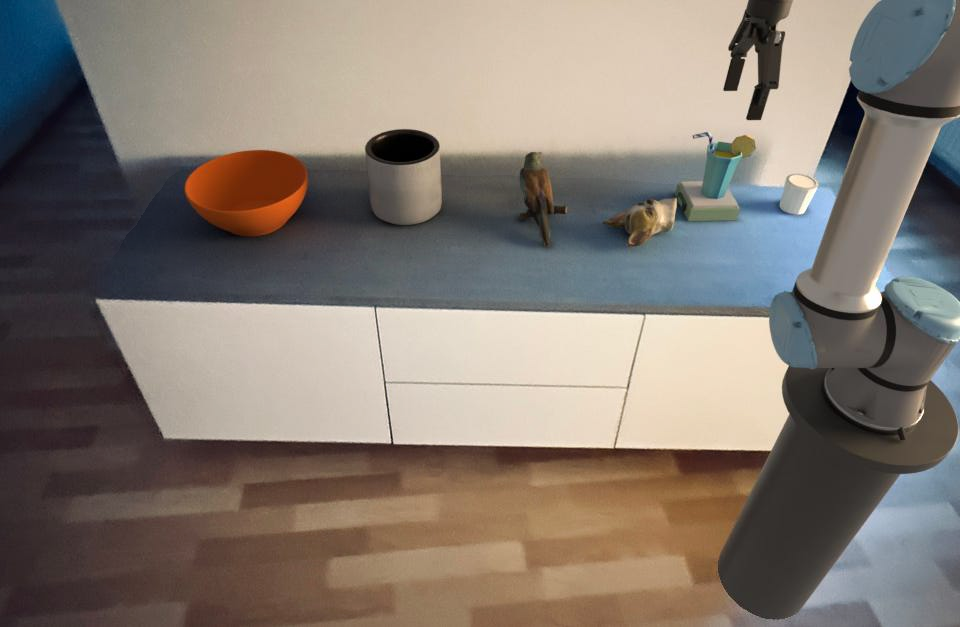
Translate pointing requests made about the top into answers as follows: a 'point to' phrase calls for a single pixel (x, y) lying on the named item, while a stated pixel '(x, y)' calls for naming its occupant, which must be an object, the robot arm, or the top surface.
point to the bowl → (248, 191)
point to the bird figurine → (538, 195)
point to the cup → (723, 163)
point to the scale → (705, 203)
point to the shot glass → (797, 193)
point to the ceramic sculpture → (645, 220)
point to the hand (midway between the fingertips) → (741, 104)
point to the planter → (404, 176)
